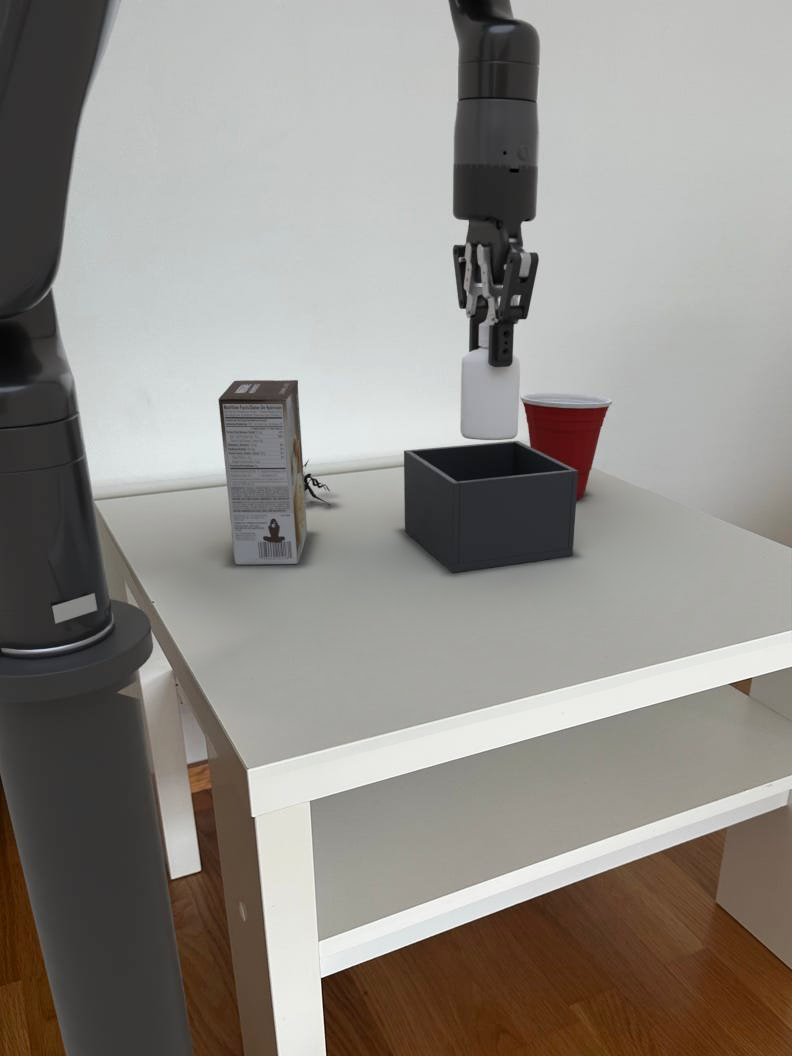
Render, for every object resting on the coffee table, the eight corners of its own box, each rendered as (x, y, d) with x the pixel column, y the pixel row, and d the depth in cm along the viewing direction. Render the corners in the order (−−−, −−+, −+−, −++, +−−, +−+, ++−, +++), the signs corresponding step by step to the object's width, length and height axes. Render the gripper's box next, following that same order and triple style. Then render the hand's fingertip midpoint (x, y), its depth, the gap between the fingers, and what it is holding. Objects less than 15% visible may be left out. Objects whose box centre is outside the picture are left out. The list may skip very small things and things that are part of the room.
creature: (307, 497, 114) (250, 495, 109) (313, 453, 113) (255, 449, 107) (345, 513, 109) (287, 511, 104) (352, 467, 108) (293, 462, 102)
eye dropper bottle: (472, 429, 96) (474, 305, 91) (523, 435, 94) (528, 308, 88) (453, 437, 92) (455, 309, 87) (506, 444, 90) (510, 313, 85)
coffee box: (247, 534, 98) (232, 378, 91) (308, 534, 99) (299, 379, 92) (233, 566, 90) (216, 396, 83) (300, 565, 91) (289, 397, 84)
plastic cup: (607, 485, 118) (615, 389, 113) (602, 510, 109) (610, 406, 104) (522, 479, 120) (526, 384, 115) (509, 503, 110) (513, 400, 105)
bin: (452, 573, 90) (453, 483, 86) (404, 531, 100) (403, 450, 97) (572, 555, 95) (578, 470, 91) (514, 518, 106) (517, 440, 102)
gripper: (426, 161, 87) (426, 353, 94) (491, 158, 75) (485, 377, 82) (499, 164, 90) (494, 350, 97) (572, 161, 78) (560, 372, 85)
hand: (490, 361), depth 90 cm, fingers closed on eye dropper bottle, 4 cm apart
